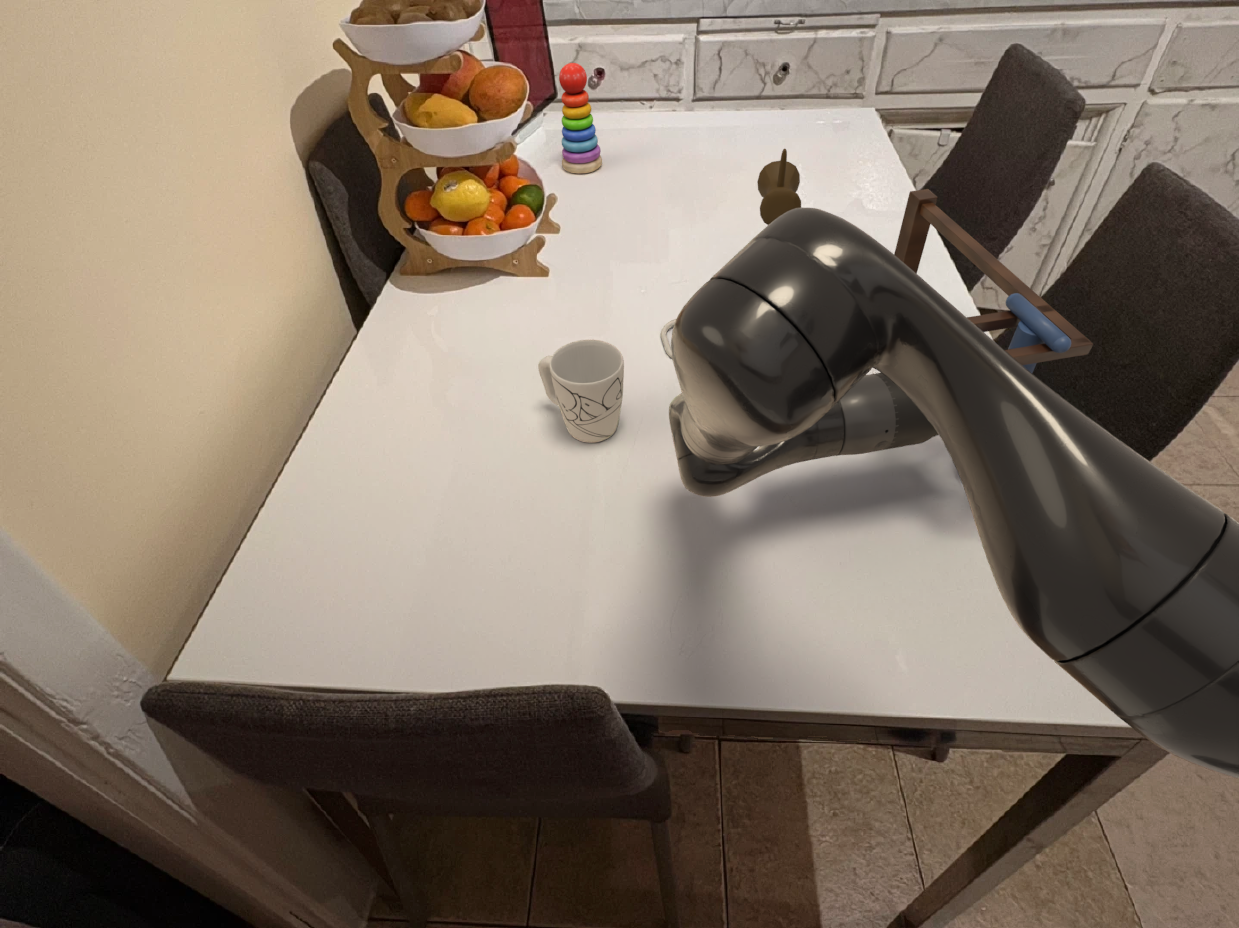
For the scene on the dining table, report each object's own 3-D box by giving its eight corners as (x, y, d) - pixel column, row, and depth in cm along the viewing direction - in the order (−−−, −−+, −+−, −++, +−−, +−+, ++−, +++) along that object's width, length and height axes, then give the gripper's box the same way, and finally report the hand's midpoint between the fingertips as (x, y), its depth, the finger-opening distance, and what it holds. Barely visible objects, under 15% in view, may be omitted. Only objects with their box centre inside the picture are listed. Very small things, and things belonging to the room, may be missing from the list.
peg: (984, 482, 75) (1046, 345, 63) (942, 428, 81) (991, 293, 69) (1023, 475, 75) (1092, 337, 63) (978, 421, 81) (1034, 286, 69)
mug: (525, 425, 90) (513, 360, 82) (566, 388, 94) (558, 323, 87) (600, 459, 85) (595, 393, 78) (640, 418, 89) (637, 353, 82)
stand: (1043, 484, 79) (1125, 333, 65) (936, 504, 78) (996, 354, 64) (891, 305, 104) (926, 169, 90) (808, 318, 103) (831, 182, 89)
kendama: (788, 265, 113) (805, 134, 99) (790, 298, 107) (810, 163, 93) (749, 264, 114) (761, 134, 100) (749, 297, 107) (762, 163, 93)
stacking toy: (573, 156, 147) (563, 54, 134) (608, 161, 144) (603, 57, 131) (555, 172, 142) (544, 67, 129) (592, 177, 139) (584, 71, 126)
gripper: (917, 432, 63) (1087, 402, 65) (849, 339, 73) (998, 315, 75) (898, 491, 68) (1055, 462, 70) (837, 396, 78) (976, 373, 80)
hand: (1025, 386), depth 72 cm, fingers open, 8 cm apart
